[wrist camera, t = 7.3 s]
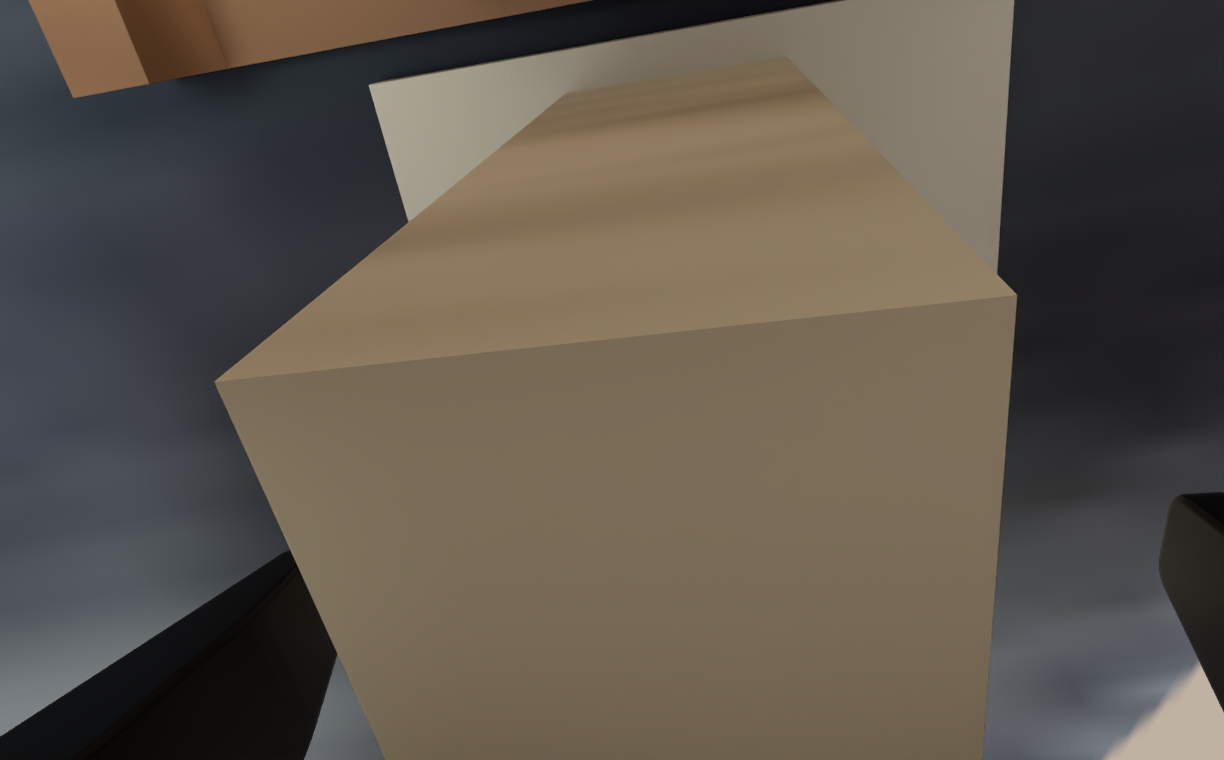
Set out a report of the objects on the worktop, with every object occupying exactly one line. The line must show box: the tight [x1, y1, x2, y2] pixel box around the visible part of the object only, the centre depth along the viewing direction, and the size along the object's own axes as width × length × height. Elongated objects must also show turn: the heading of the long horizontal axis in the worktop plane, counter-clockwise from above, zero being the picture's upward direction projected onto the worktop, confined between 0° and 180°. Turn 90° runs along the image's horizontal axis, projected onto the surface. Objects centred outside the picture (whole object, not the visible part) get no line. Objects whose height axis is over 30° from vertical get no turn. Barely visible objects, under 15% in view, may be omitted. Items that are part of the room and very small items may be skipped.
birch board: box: [214, 56, 1017, 760], centre depth 8 cm, size 9×3×8 cm, turn 10°
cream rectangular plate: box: [369, 0, 1014, 274], centre depth 12 cm, size 10×8×1 cm
